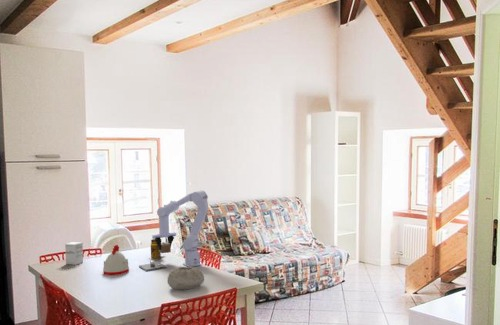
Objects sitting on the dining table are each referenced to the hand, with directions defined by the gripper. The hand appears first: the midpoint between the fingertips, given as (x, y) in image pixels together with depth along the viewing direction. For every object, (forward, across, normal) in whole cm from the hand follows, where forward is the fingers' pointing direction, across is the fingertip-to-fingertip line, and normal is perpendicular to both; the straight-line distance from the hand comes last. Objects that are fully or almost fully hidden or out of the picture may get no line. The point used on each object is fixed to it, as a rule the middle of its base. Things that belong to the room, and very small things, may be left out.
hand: (164, 249), depth 270 cm
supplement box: (+9, +45, -35) cm, 58 cm away
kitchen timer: (+9, +30, +2) cm, 31 cm away
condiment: (+9, -1, -17) cm, 19 cm away
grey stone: (+9, +10, +54) cm, 56 cm away
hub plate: (+8, +10, +6) cm, 14 cm away
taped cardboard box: (+2, 0, 0) cm, 2 cm away
